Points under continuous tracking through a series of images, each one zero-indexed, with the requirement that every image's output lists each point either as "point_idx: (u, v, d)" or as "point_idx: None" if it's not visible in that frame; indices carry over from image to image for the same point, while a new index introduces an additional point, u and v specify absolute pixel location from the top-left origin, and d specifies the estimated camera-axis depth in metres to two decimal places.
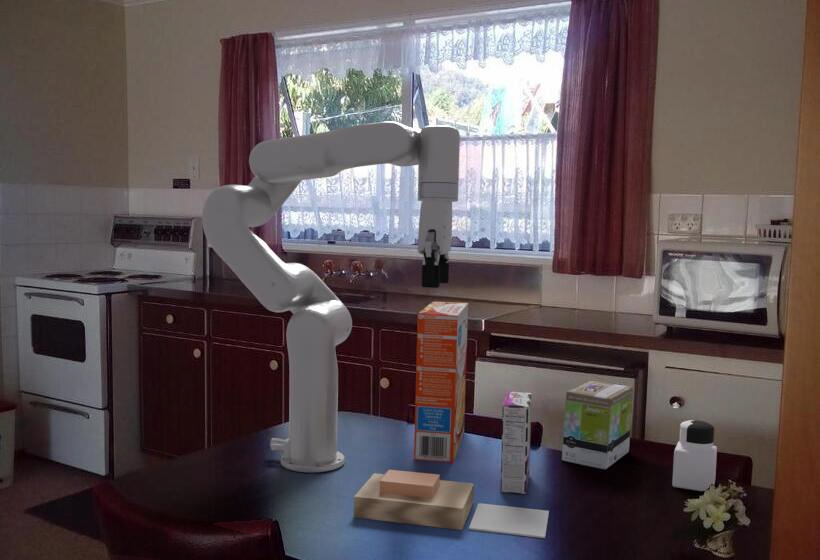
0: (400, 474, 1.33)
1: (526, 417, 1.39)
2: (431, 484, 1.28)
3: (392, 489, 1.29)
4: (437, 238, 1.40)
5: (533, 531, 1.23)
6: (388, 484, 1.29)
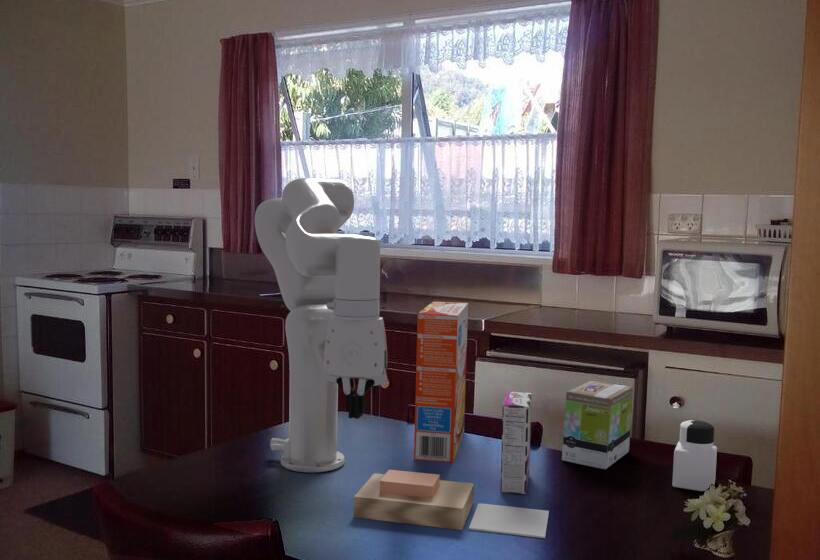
0: (400, 474, 1.33)
1: (526, 417, 1.39)
2: (431, 484, 1.28)
3: (392, 489, 1.29)
4: (386, 358, 1.31)
5: (533, 531, 1.23)
6: (388, 484, 1.29)
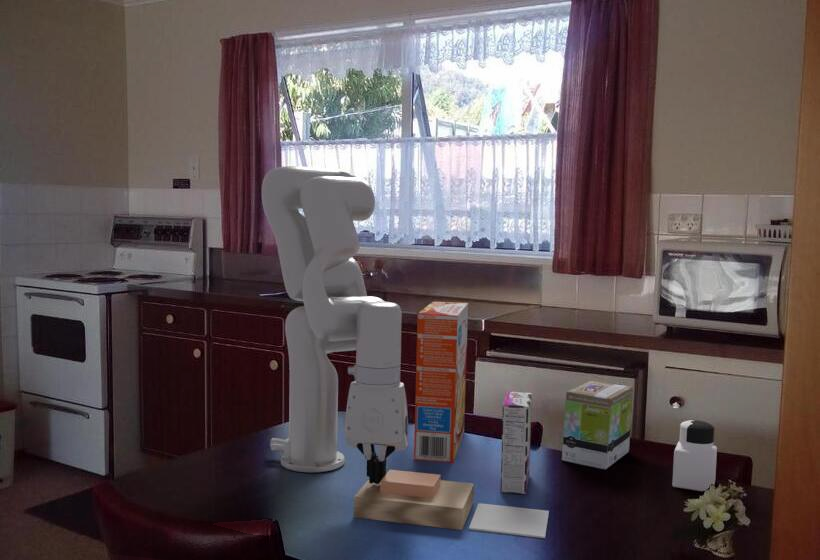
0: (401, 474, 1.33)
1: (526, 417, 1.39)
2: (432, 484, 1.28)
3: (393, 489, 1.29)
4: (407, 423, 1.32)
5: (533, 531, 1.23)
6: (388, 484, 1.29)
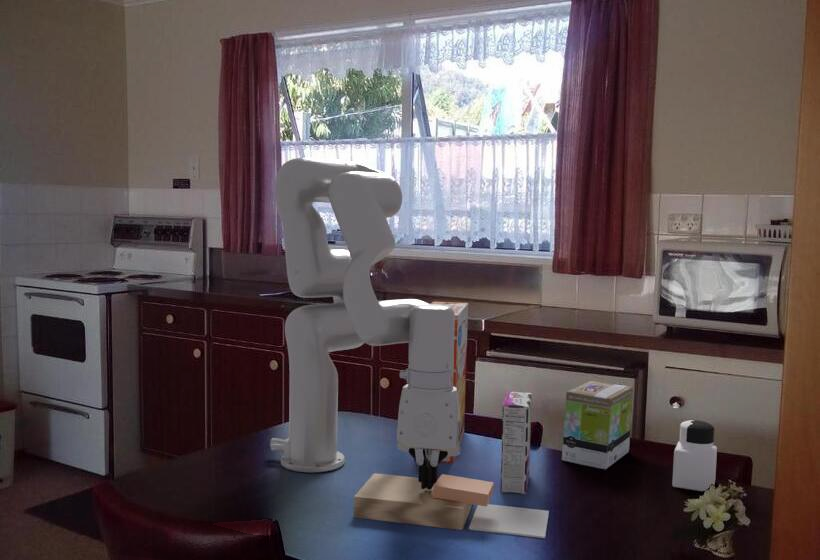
0: (453, 479, 1.30)
1: (526, 417, 1.39)
2: (486, 492, 1.25)
3: (446, 495, 1.27)
4: None
5: (533, 531, 1.23)
6: (441, 489, 1.27)
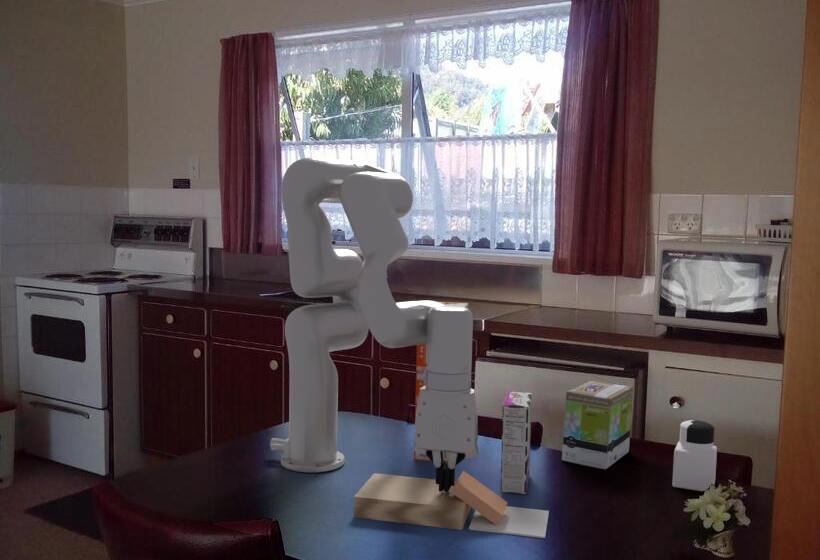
0: (473, 483, 1.30)
1: (526, 417, 1.38)
2: (502, 513, 1.25)
3: (464, 496, 1.26)
4: (477, 430, 1.29)
5: (533, 531, 1.23)
6: (463, 489, 1.26)
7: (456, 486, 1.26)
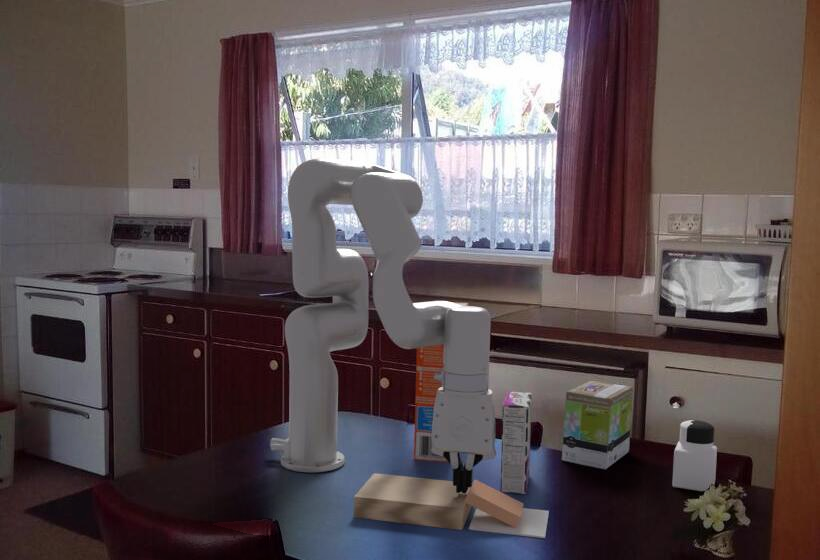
0: (486, 489, 1.29)
1: (526, 417, 1.39)
2: (518, 514, 1.25)
3: (478, 504, 1.25)
4: None
5: (533, 531, 1.23)
6: (476, 497, 1.25)
7: (468, 495, 1.26)
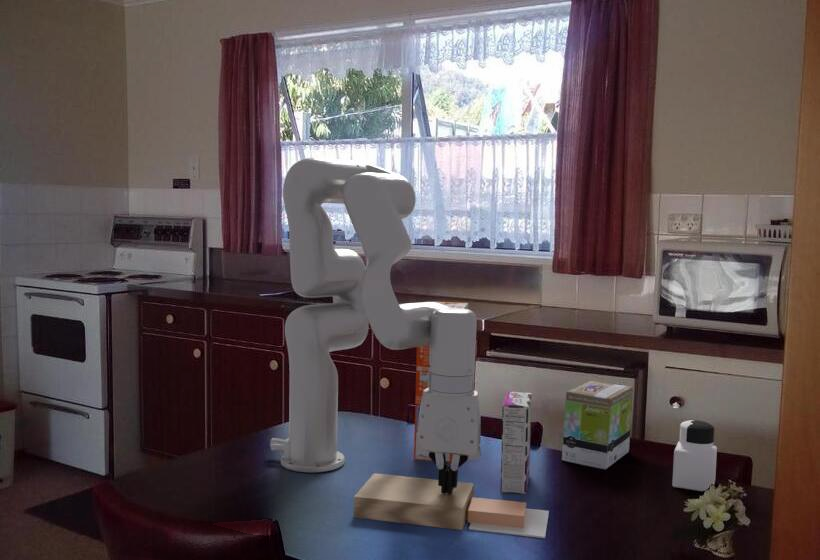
0: (486, 502, 1.29)
1: (526, 417, 1.39)
2: (522, 514, 1.25)
3: (481, 519, 1.25)
4: (480, 432, 1.29)
5: (533, 531, 1.23)
6: (476, 513, 1.26)
7: (469, 514, 1.26)
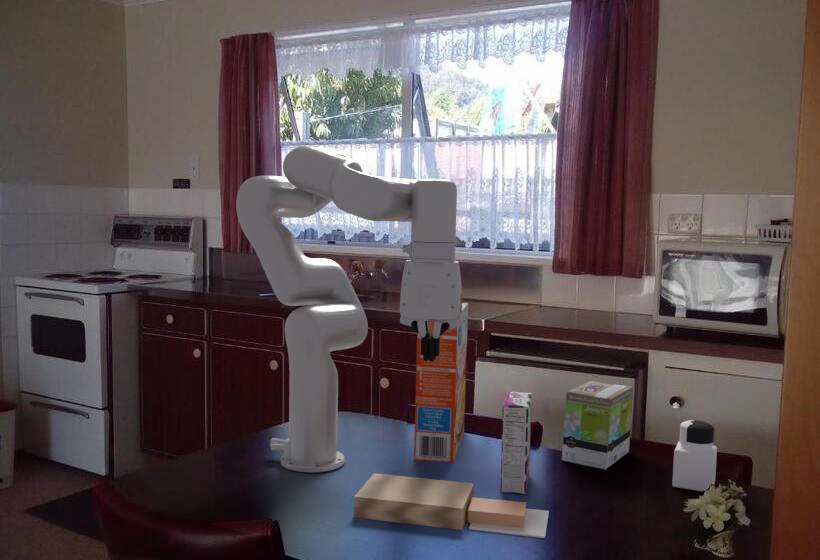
0: (486, 502, 1.29)
1: (526, 417, 1.39)
2: (522, 514, 1.25)
3: (481, 519, 1.25)
4: (461, 301, 1.32)
5: (533, 531, 1.23)
6: (476, 513, 1.26)
7: (469, 514, 1.26)
